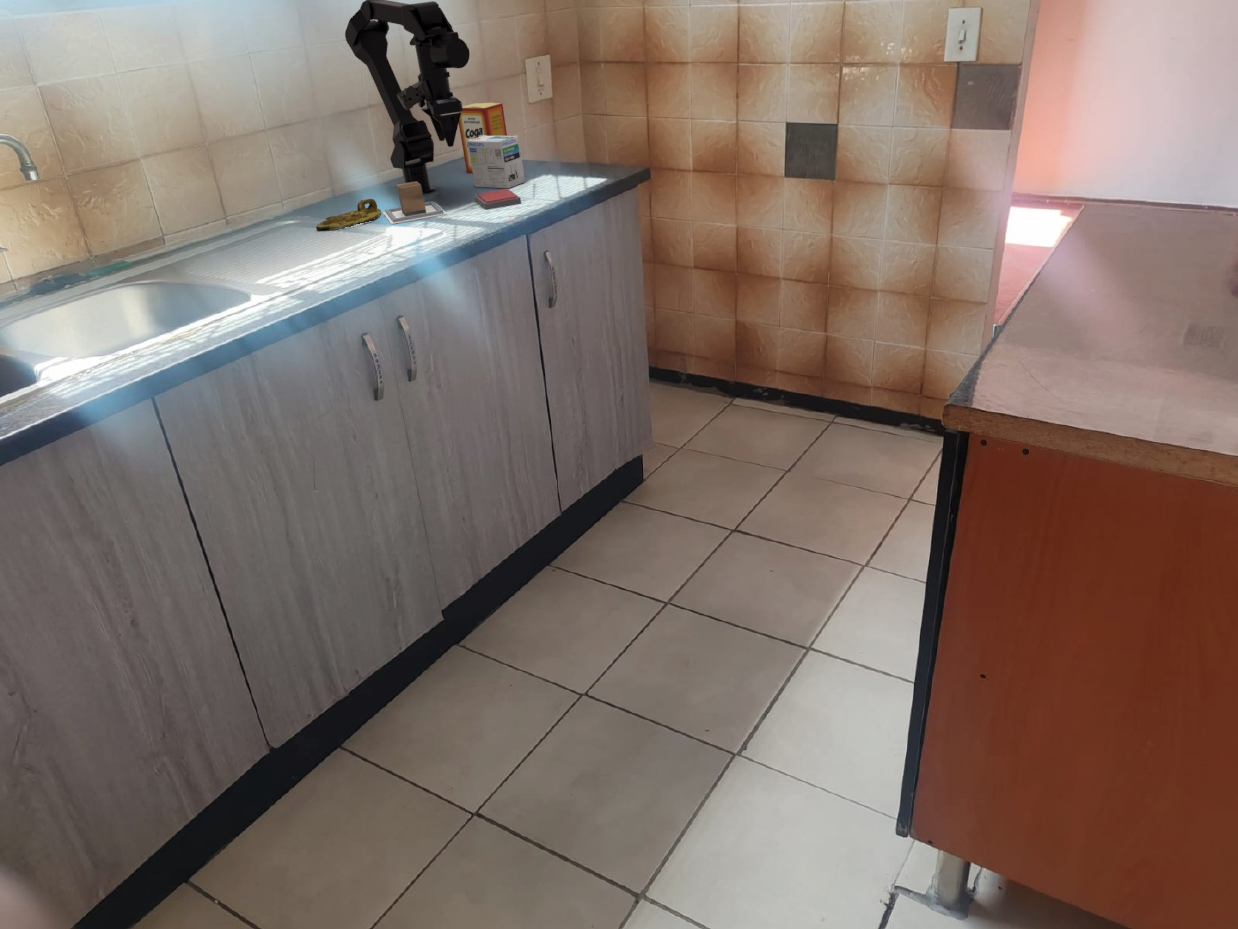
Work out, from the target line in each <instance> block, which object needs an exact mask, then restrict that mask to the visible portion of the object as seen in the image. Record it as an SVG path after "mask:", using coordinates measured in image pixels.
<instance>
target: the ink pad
mask: <svg viewBox="0 0 1238 929" xmlns="http://www.w3.org/2000/svg"><path fill="white" fill-rule="evenodd" d="M473 198H474V202H476V203H477V204H478V205H479V206H480V207H482V208H483V209H484V210H491V209H496V208H497V209H498V208H502V207H506V206H507V207H508V206H514V205H518V204H522V199H521V197H520V196H519V195H517V194H516V193H514V192H513V191H512V190H510V188H502V189H498V190H491V191H487V192H481V193H477V194H475V195H473Z"/></svg>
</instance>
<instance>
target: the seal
mask: <svg viewBox="0 0 1238 929" xmlns="http://www.w3.org/2000/svg"><path fill="white" fill-rule="evenodd" d="M367 204H368V207H366V205H367ZM382 214H383V213H382V211H381V209H380V208H378V204H377V202H376V200H375V199H374V198H366V199H363V200H362V199H361V200H359V201H358V203H357V208H356V210H352V211H349V212H345V213H342V214H338V215H331V216H328V217H326V218H325V220H324V221H321V222H320V223H318V224H316V227H315V229H316V231H323V232H325V231H328V232H332V231H333V232H334V231H340V230H339V229H343V230H345V229H344V228H345V227H351V226H354V225H356V224H360V223H365V222H369V221H373V222H375V221H377V220H379V219H380V218H381V217H382V216H381V215H382ZM380 216H381V217H380ZM378 218H379V219H378Z"/></svg>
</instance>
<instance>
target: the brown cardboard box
mask: <svg viewBox="0 0 1238 929" xmlns="http://www.w3.org/2000/svg"><path fill="white" fill-rule="evenodd" d="M396 189H397V195H398V198H399V203H400V207H401V209H402V213H403V214H404V215H405V217H406V216H412V215H417V214H423V213H426V209H425V204H424V203H425V198H424V195H423V194H424V193H422V188H421V185H420V184H419V183H418V182H417V181H416V182H410V183H405V182H404V183H400V184H396Z"/></svg>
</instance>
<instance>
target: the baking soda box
mask: <svg viewBox="0 0 1238 929" xmlns="http://www.w3.org/2000/svg"><path fill="white" fill-rule="evenodd" d="M503 104H504V103H503V102H502V103H501V102H498V103H497V102H483V103H482V102H480V103H479V102H477V103H476V102H475V103H471V104H467V105H466V104H465V105H463V106H462V109H463V111H461V116H460V119H459V123H458V127H459V132H460V134H459V135H460V139H461V145H462V151H463V152H462V153H463V157H464V163H465V167H466V168H465V170H466V173H467V174H473V172H472V166H471V161H470V155H469V149H468V143H467V140H470V139H474V138H478V137H481V136H484V135H486V136H508V133H507V125H506V119H505V112H504V106H503Z"/></svg>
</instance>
